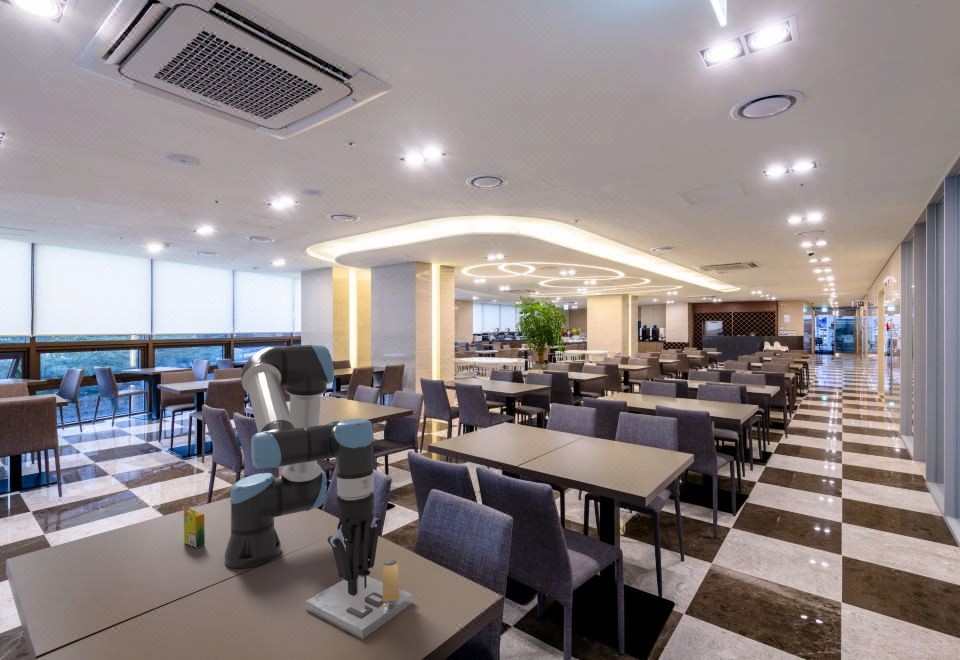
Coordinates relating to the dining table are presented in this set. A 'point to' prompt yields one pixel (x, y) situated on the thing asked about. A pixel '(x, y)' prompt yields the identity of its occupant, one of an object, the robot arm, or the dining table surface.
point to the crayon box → (193, 528)
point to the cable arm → (390, 581)
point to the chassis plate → (338, 600)
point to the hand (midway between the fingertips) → (357, 607)
